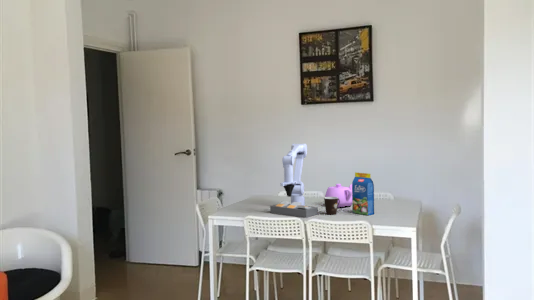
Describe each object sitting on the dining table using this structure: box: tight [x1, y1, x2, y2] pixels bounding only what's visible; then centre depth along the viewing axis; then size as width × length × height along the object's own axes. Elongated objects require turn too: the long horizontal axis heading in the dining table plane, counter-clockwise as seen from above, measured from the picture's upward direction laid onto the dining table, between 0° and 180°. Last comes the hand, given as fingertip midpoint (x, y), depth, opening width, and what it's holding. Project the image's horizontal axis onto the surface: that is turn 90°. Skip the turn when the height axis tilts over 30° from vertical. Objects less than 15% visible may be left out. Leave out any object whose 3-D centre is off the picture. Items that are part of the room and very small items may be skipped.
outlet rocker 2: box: [287, 202, 301, 208], centre depth 296 cm, size 9×6×1 cm, turn 140°
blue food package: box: [351, 171, 375, 216], centre depth 290 cm, size 6×12×25 cm, turn 39°
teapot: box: [324, 183, 352, 209], centre depth 318 cm, size 23×21×15 cm
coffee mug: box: [323, 196, 340, 216], centre depth 292 cm, size 12×9×10 cm
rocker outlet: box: [297, 205, 313, 209], centre depth 290 cm, size 9×6×1 cm, turn 140°
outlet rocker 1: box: [275, 200, 291, 207], centre depth 302 cm, size 9×6×1 cm, turn 140°
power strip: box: [269, 203, 319, 219], centre depth 296 cm, size 12×28×4 cm, turn 50°
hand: (289, 196), depth 299 cm, fingers closed
